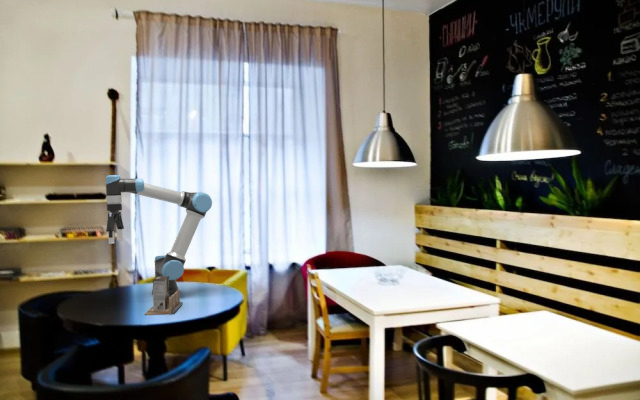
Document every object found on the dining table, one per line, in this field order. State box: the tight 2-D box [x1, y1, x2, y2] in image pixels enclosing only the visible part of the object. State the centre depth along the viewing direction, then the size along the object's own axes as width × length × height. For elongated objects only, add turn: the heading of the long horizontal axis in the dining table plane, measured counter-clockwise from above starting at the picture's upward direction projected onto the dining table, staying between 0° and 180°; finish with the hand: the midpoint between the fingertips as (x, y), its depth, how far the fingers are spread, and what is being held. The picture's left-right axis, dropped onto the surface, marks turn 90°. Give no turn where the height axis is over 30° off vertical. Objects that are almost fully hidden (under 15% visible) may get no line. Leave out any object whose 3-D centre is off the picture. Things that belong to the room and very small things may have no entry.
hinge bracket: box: [144, 289, 183, 316], centre depth 244 cm, size 20×15×8 cm
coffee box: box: [152, 276, 170, 311], centre depth 244 cm, size 9×6×16 cm
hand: (115, 242), depth 257 cm, fingers open, 13 cm apart
